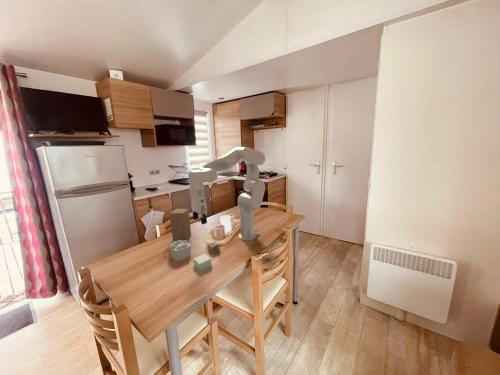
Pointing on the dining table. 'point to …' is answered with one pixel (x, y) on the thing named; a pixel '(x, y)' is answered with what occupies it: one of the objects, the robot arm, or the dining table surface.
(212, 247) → the walnut cube
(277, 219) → the dining table surface
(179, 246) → the lumpy-topped squat cylinder
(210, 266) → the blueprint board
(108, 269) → the dining table surface
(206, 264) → the base block
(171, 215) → the wooden block
